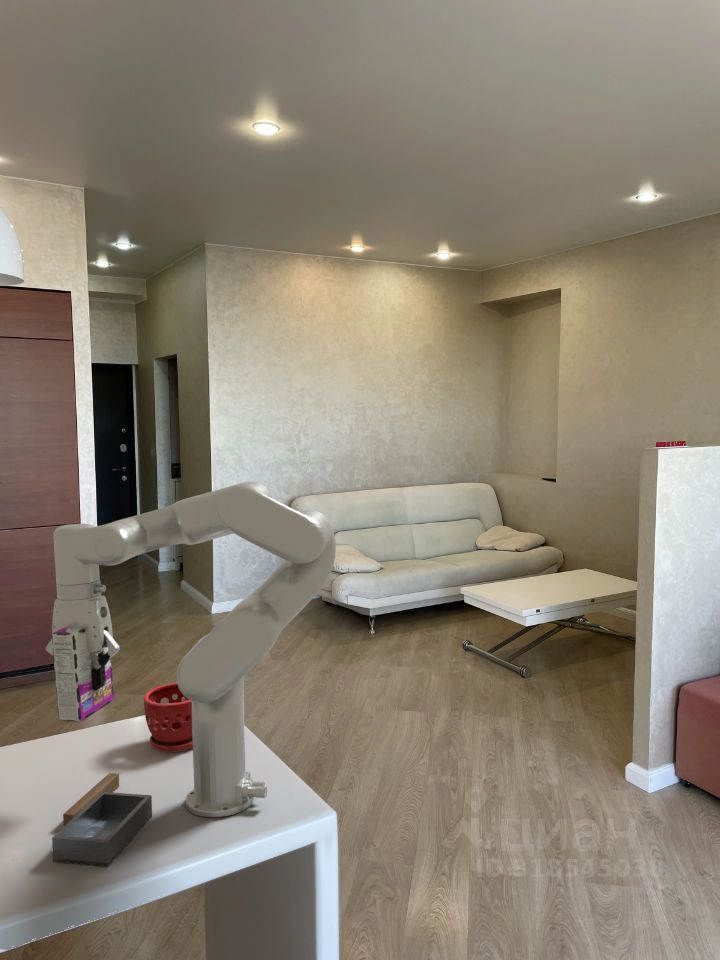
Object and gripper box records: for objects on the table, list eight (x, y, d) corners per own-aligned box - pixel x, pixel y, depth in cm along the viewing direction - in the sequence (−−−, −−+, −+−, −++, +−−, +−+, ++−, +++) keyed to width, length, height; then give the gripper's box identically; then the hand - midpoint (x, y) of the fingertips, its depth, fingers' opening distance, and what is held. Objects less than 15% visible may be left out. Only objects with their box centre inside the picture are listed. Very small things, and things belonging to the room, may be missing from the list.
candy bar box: (91, 699, 145) (87, 616, 144) (114, 700, 143) (110, 617, 142) (55, 721, 134) (50, 631, 133) (80, 723, 133) (74, 632, 132)
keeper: (152, 816, 133) (151, 795, 133) (108, 866, 118) (107, 842, 118) (102, 813, 135) (102, 791, 135) (53, 861, 120) (52, 837, 119)
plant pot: (144, 737, 169) (142, 685, 168) (203, 729, 173) (201, 679, 172) (146, 761, 156) (144, 705, 156) (209, 752, 160) (207, 697, 159)
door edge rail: (119, 785, 145) (118, 773, 145) (74, 828, 130) (73, 815, 129) (109, 785, 146) (109, 772, 146) (63, 828, 130) (63, 814, 130)
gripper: (131, 587, 139) (137, 682, 140) (50, 586, 143) (56, 679, 144) (109, 595, 132) (116, 696, 133) (25, 595, 135) (31, 693, 136)
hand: (85, 686), depth 138 cm, fingers closed on candy bar box, 5 cm apart
